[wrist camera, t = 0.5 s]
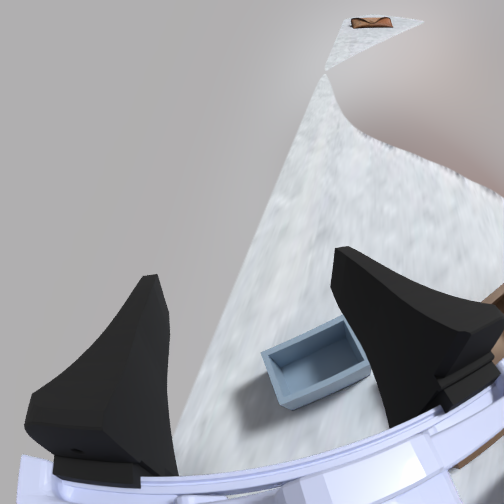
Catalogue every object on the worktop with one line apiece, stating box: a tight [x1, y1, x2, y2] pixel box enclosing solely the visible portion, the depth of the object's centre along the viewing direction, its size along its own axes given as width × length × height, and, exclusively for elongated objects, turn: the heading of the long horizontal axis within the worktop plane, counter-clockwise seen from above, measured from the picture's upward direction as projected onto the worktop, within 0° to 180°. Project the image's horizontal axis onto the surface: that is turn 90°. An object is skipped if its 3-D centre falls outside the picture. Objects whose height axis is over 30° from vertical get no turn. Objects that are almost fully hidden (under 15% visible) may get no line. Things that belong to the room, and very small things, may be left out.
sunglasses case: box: [351, 17, 393, 29], centre depth 86 cm, size 18×7×7 cm, turn 75°
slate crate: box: [261, 315, 371, 411], centre depth 24 cm, size 5×8×5 cm, turn 108°
